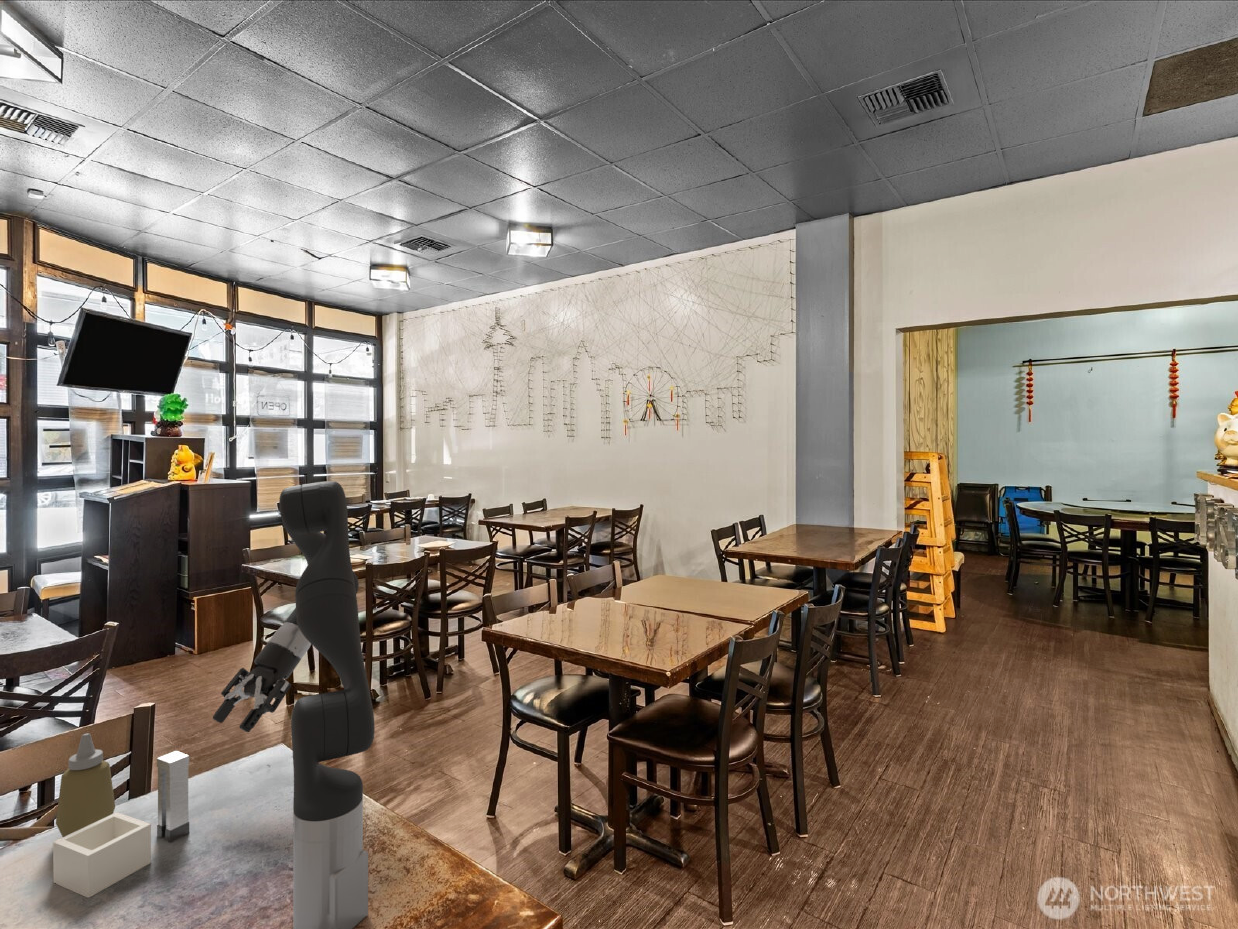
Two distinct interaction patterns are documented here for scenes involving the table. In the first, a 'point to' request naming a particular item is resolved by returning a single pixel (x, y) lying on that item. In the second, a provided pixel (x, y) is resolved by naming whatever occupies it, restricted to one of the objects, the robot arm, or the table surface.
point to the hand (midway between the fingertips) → (229, 725)
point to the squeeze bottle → (84, 789)
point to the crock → (101, 854)
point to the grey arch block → (172, 796)
